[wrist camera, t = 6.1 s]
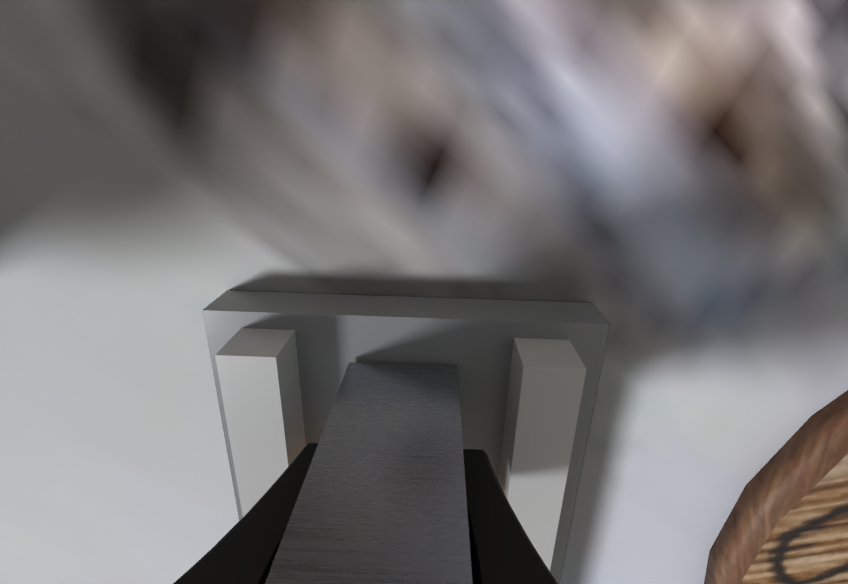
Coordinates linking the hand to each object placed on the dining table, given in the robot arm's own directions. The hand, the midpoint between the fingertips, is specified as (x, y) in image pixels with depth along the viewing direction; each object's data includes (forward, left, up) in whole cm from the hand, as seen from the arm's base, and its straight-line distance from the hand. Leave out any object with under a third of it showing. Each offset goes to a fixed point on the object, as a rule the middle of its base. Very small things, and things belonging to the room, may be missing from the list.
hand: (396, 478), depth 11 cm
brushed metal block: (0, 0, -2) cm, 2 cm away
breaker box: (0, -4, -4) cm, 5 cm away
